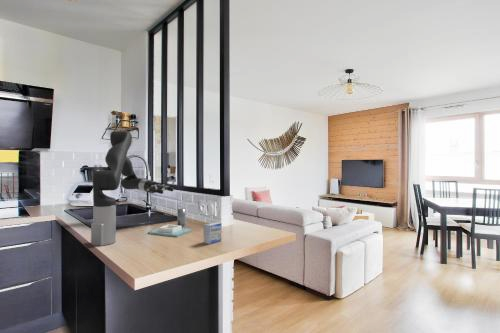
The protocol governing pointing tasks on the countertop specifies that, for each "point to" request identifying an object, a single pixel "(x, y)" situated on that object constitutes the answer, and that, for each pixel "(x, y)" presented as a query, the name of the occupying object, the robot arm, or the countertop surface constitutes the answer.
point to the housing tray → (170, 231)
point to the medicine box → (212, 233)
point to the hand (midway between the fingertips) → (167, 190)
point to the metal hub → (181, 217)
